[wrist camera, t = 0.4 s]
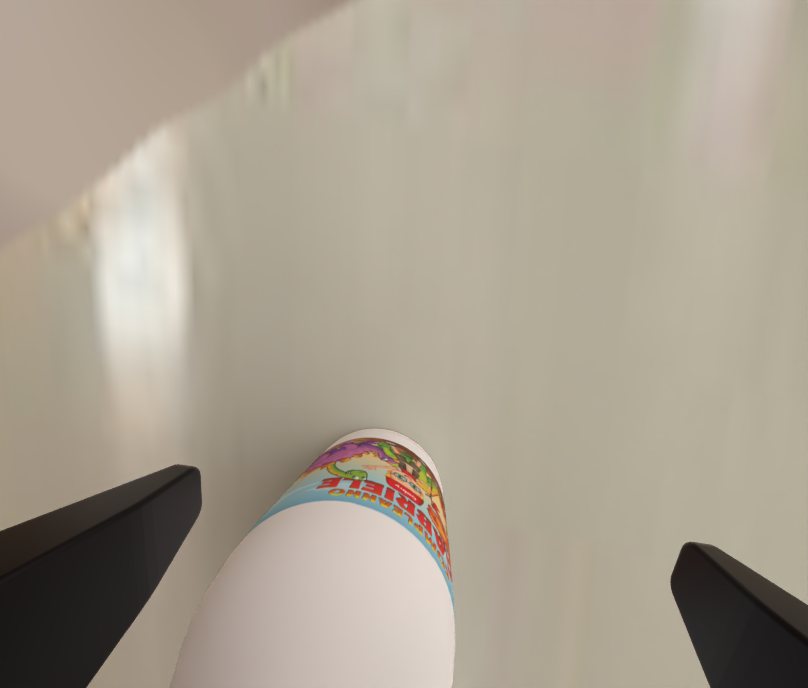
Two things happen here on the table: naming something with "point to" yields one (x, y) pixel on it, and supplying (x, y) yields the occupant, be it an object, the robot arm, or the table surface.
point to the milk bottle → (335, 581)
